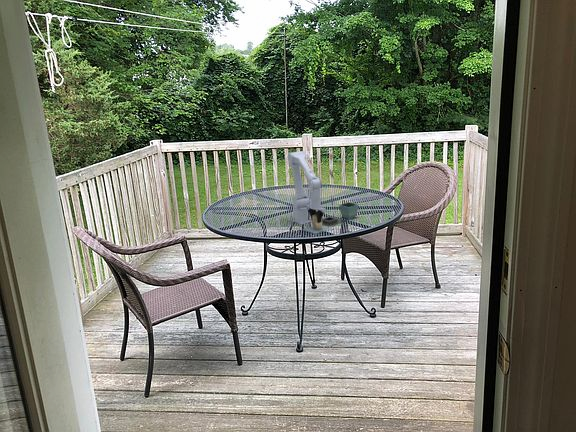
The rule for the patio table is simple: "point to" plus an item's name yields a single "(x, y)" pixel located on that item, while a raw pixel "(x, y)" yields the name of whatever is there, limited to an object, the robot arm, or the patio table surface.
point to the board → (315, 231)
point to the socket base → (331, 221)
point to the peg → (315, 224)
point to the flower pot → (348, 210)
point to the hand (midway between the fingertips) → (316, 221)
